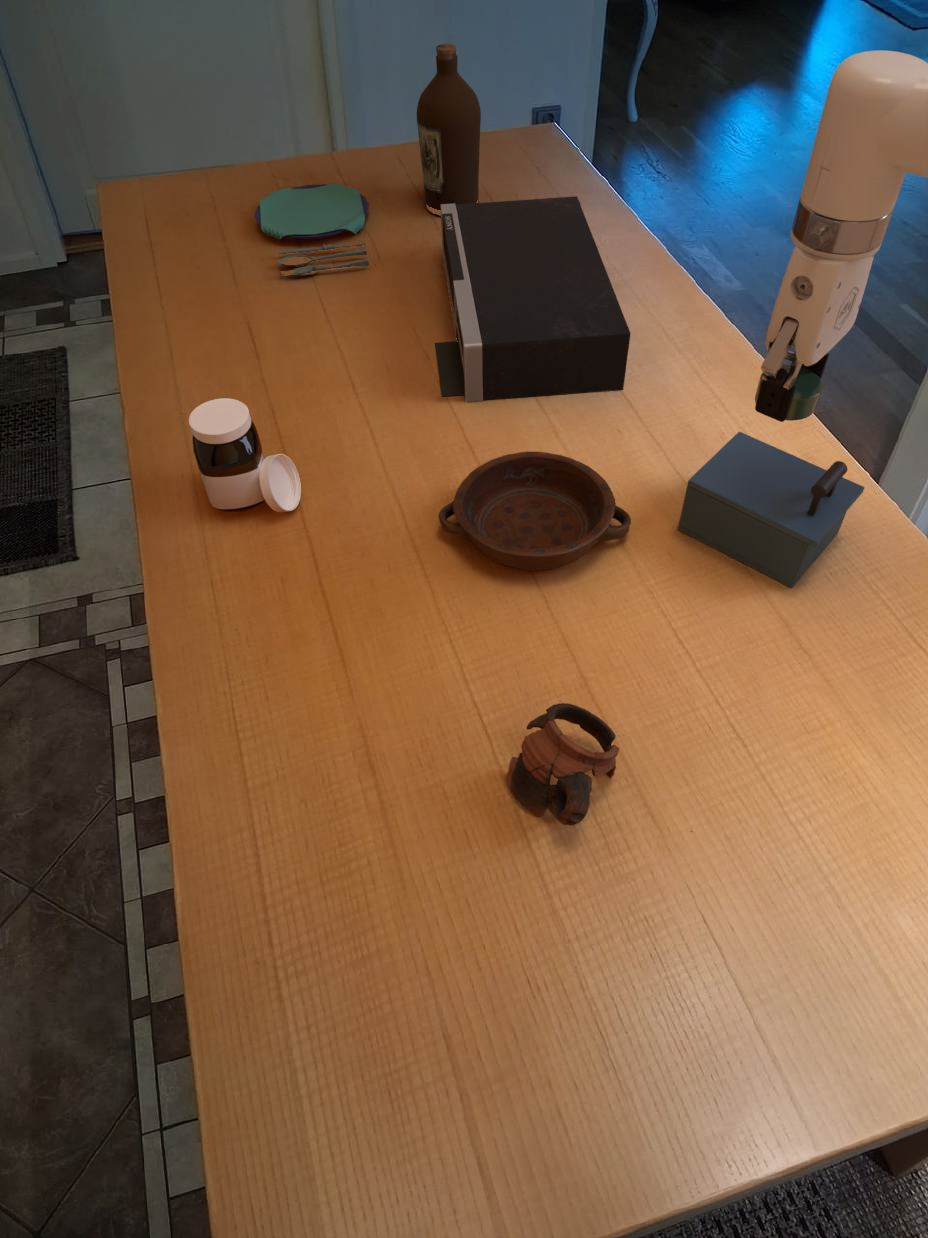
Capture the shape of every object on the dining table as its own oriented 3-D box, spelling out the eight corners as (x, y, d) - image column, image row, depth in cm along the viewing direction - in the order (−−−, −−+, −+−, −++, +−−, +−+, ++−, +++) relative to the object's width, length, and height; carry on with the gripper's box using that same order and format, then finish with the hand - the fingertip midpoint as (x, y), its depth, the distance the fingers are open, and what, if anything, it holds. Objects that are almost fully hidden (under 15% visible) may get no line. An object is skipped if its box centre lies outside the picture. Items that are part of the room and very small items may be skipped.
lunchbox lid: (862, 492, 98) (877, 456, 94) (815, 548, 93) (829, 512, 89) (737, 436, 105) (747, 400, 101) (687, 485, 99) (695, 449, 96)
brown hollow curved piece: (491, 751, 86) (527, 686, 82) (576, 770, 89) (614, 708, 86) (516, 847, 76) (559, 778, 73) (611, 864, 80) (656, 799, 76)
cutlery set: (364, 189, 164) (363, 176, 163) (382, 270, 145) (381, 257, 143) (255, 200, 163) (253, 187, 161) (258, 284, 143) (256, 270, 142)
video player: (623, 390, 123) (630, 332, 116) (442, 404, 122) (439, 347, 115) (572, 247, 149) (576, 194, 142) (423, 258, 147) (420, 204, 141)
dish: (443, 481, 111) (441, 449, 107) (621, 481, 110) (626, 449, 107) (435, 584, 100) (433, 553, 96) (634, 586, 99) (640, 554, 95)
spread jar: (206, 473, 113) (182, 395, 104) (295, 457, 115) (279, 380, 106) (213, 537, 106) (187, 459, 97) (308, 519, 107) (291, 441, 98)
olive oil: (461, 187, 164) (457, 30, 145) (493, 208, 158) (493, 48, 139) (411, 202, 161) (400, 43, 142) (441, 225, 155) (434, 63, 136)
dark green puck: (808, 384, 92) (815, 363, 90) (822, 420, 88) (829, 399, 86) (749, 384, 92) (755, 363, 91) (760, 420, 89) (766, 399, 87)
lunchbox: (837, 533, 104) (855, 489, 98) (791, 588, 98) (808, 544, 93) (726, 481, 110) (737, 436, 105) (677, 529, 105) (687, 485, 100)
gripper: (835, 277, 71) (779, 457, 84) (923, 198, 79) (859, 373, 93) (750, 248, 74) (709, 426, 88) (843, 175, 82) (792, 348, 96)
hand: (787, 397), depth 90 cm, fingers closed on dark green puck, 6 cm apart
